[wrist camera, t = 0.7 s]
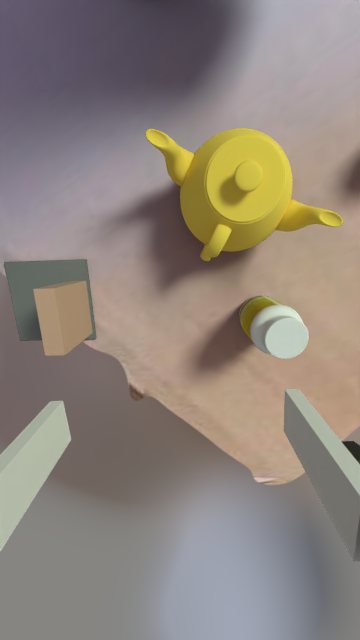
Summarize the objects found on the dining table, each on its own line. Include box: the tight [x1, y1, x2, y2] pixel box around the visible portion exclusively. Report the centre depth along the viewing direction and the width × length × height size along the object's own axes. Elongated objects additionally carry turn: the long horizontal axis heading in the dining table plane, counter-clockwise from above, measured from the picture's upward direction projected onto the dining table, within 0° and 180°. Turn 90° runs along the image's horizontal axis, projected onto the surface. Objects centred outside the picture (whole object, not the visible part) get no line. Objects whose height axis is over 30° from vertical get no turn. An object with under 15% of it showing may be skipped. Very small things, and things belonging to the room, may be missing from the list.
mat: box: [4, 259, 96, 341], centre depth 38 cm, size 12×12×1 cm
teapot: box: [146, 128, 343, 261], centre depth 29 cm, size 20×15×12 cm
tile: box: [33, 281, 93, 356], centre depth 33 cm, size 8×2×9 cm, turn 2°
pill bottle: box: [239, 295, 309, 359], centre depth 32 cm, size 6×6×11 cm
